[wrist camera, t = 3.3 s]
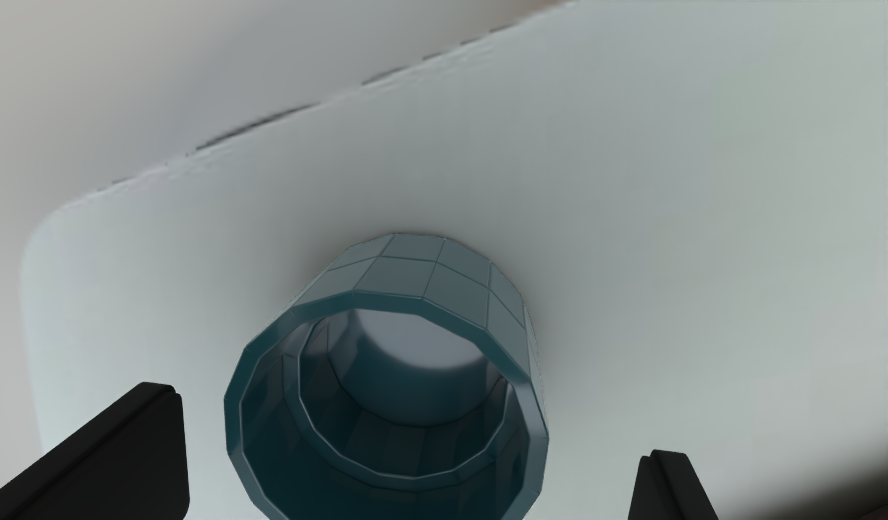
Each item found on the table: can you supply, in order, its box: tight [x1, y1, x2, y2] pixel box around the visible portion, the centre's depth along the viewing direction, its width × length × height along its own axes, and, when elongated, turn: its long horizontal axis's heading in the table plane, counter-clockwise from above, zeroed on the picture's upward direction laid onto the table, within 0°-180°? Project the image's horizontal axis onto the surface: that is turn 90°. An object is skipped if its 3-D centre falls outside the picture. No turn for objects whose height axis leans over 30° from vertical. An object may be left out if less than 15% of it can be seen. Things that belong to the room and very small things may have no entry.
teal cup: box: [224, 233, 549, 520], centre depth 14 cm, size 7×7×5 cm
